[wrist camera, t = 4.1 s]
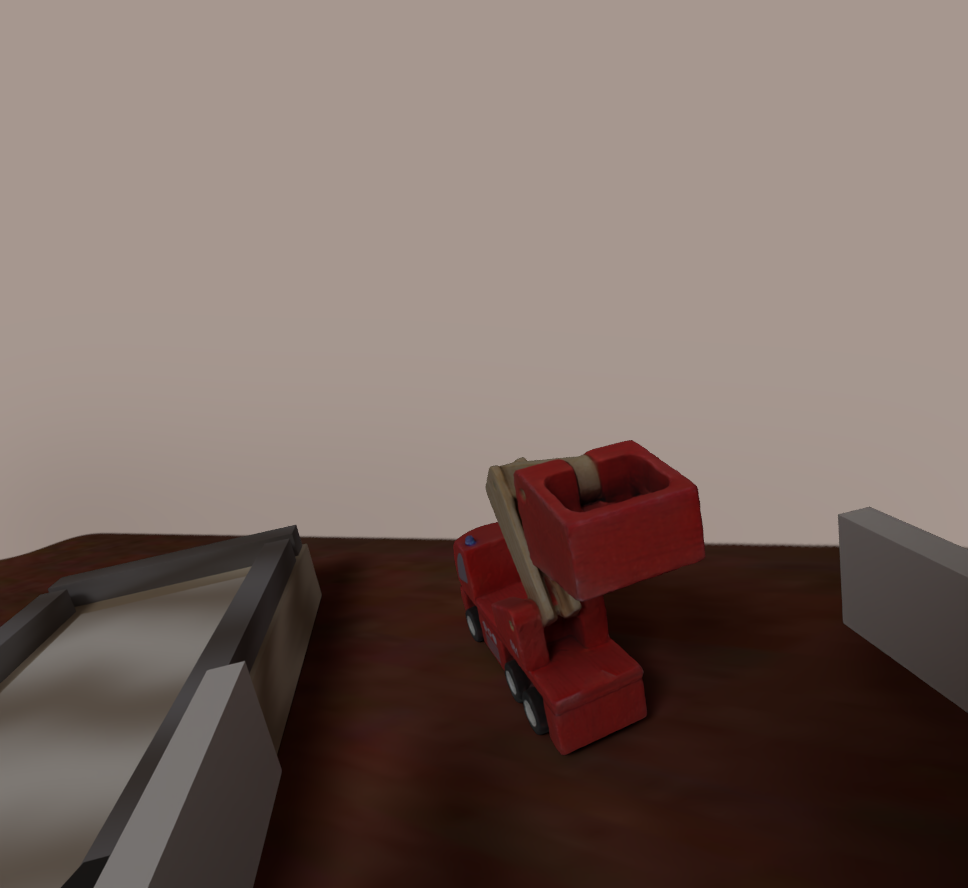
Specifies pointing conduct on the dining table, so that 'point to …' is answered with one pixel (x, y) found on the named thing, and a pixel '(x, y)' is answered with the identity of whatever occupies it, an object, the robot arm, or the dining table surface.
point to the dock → (133, 685)
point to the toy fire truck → (573, 579)
